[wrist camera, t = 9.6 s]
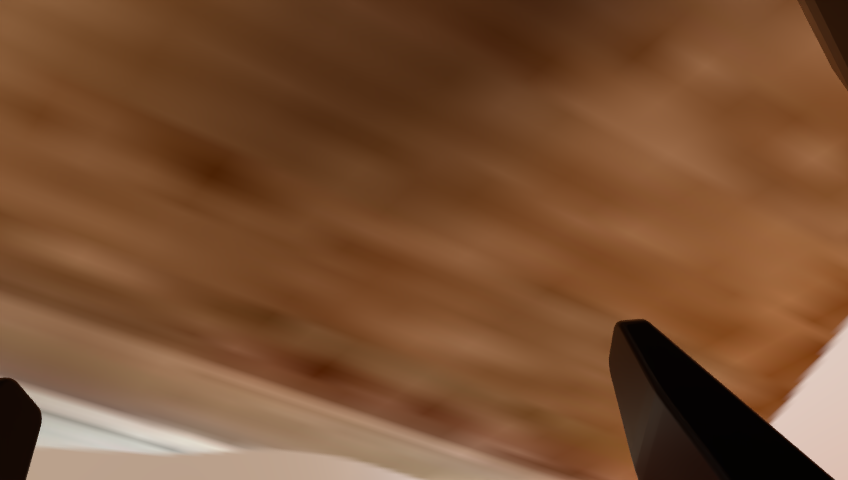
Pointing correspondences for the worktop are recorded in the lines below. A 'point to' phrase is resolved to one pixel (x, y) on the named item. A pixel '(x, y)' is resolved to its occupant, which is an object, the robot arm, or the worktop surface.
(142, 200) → the worktop surface
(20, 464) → the robot arm
